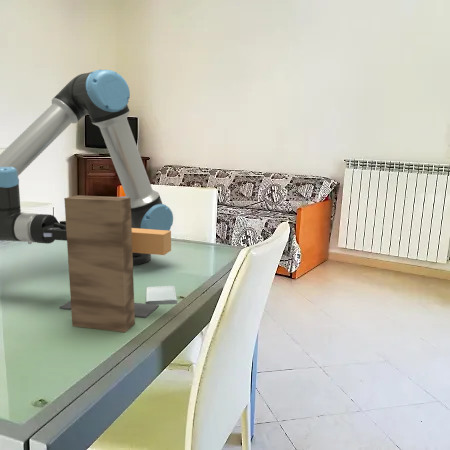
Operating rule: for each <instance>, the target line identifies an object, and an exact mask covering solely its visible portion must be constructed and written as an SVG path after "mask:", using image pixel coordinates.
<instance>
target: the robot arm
mask: <svg viewBox="0 0 450 450" xmlns="http://www.w3.org/2000/svg"><path fill="white" fill-rule="evenodd" d="M130 93H131V91H130V87H129V84H128V83H127V81H126V80H125V78H124V77H123V76H122V75H121V74H119V73H117V72H116V71H113V70H110V69H97V70H94V71H89V72H86V73H81V74H78V75H76V76H75V77H74V78H72V79H70V81H69V82H68V83H67V84H65V86H64V87H63V88H62V89H61V90H60V91H59V92H58V93H57V94H56V95H55V96H54V97H53V98H52V99H51V105H50V106H49V107H48V108H47V109H46V110H45V111H44V112H43V113H41V115H39V117H37V118H36V119H35V120H34V121H33V122H32V123H31V124H30V125H29V126H28V127H27V128H25V130H24V131H23V132H22V133H20V135H18V136H17V138H16V139H14V140H13V142H11V143H10V144H9V145H8V146H7V147H6V148H5V150H3V151H2V152H1V153H0V241H2V242H4V241H7V242H10V241H11V242H23V243H25V242H27V244H28V245H31V244H32V243H37V244H46V245H47V244H52V243H54V241H64V242H65V241H66V242H67V232H66V220H60V221H58V219H57V218H56V216H54V215H53V214H48V213H47V214H46V213H45V214H44V213H40V214H39V213H31V212H30V213H29V212H28V213H26V212H22V209H21V197H20V179H19V176H20V175H21V174H22V173H23V172H24V171H25V170H26V169H27V168H28V167H29V166H30V165H31V164H32V163H33V162H34V161H35V160H36V159H37V158H39V156H40V155H41V154H42V153H43V152H44V151H45V150H46V149H47V148H48V147H49V146H50V145H51V144H53V142H54V141H55V140H56V139H57V138H58V137H59V136H61V134H62V133H63V132H64V131H65V130H66V129H67V128H68V127H69V126H70V125H71V124H77V123H78V122H79V121H80V120H82V118H84V117H85V116H87V115H88V116H89V118H90V121H91V124H92V125H95V126H97V127H98V128H99V131H100V133H101V136H102V137H103V139H104V143H105V146H106V148H107V150H108V153H109V156H110V158H111V161H112V164H113V166H114V169H115V171H116V174H117V177H118V179H119V182H120V184H121V187H122V188H123V192H124V194H125V196H123V197H128V198H131V226H132V228H140V229H154V230H167V231H171V227H172V226H173V224H174V214H173V211H172V210H171V208H170V207H169V206H167V205H166V204H163V202H162V198H161V197H160V193H159V192H158V191H156V190H153V188H152V185H151V182H150V179H149V176H148V174H147V171H146V168H145V165H144V162H143V160H142V156H141V154H140V152H139V149H138V146H137V143H136V140H135V138H134V134H133V132H132V128H131V126H130V124H129V120H128V116H129V114H130V112H131V110H130V108H129V105H128V104H129V100H130V96H131V94H130ZM132 254H133V266H137V265H142V264H146V263H148V262H150V261H151V259H152V254H144V253H133V252H132Z"/></svg>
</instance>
